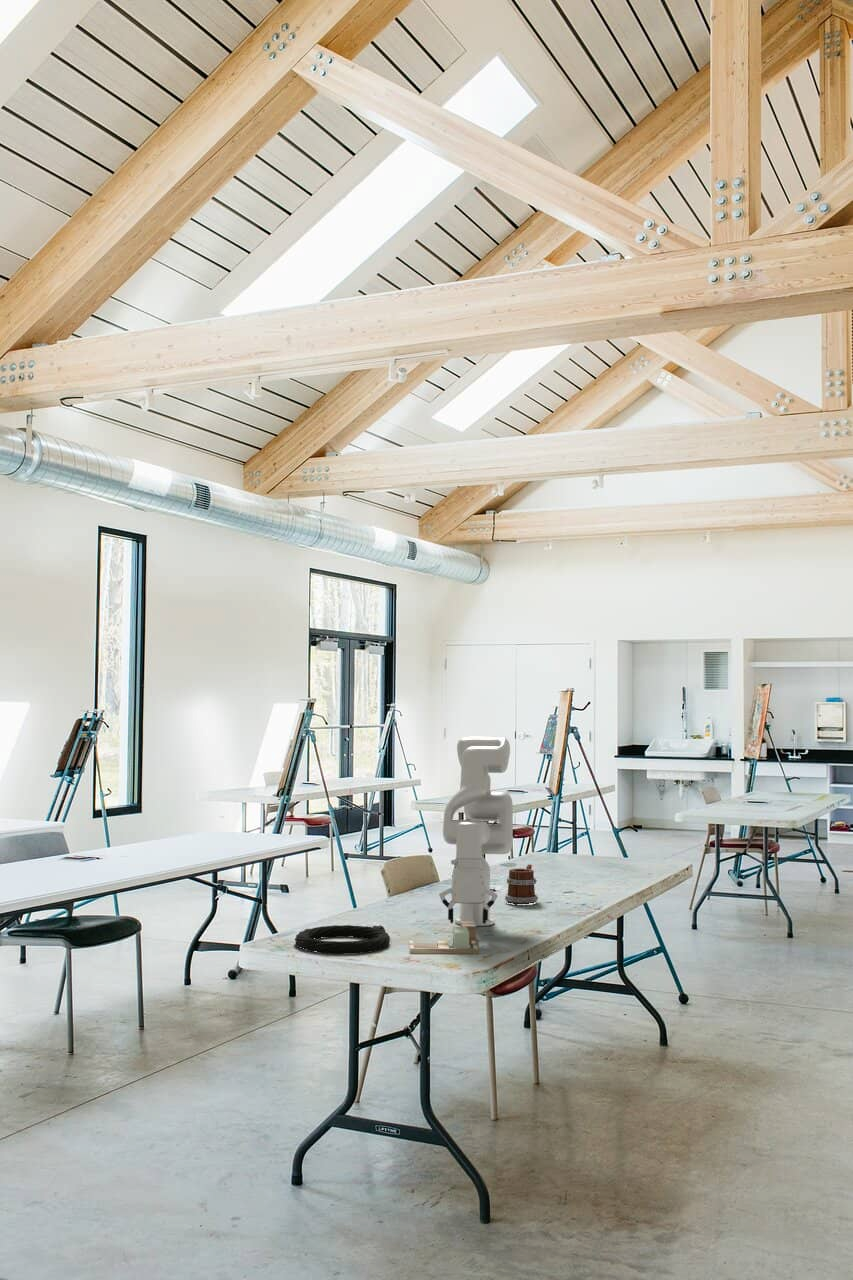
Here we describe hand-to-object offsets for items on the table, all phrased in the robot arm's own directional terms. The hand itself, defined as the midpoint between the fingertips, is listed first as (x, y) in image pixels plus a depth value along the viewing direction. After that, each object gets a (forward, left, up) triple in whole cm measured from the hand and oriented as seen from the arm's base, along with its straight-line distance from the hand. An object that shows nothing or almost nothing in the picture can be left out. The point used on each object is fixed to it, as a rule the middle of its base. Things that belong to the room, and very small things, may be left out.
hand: (467, 922), depth 327 cm
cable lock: (+6, -36, -6) cm, 37 cm away
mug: (-68, +24, -6) cm, 72 cm away
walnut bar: (-1, 0, -5) cm, 5 cm away
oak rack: (+11, -8, -5) cm, 14 cm away
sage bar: (+11, -3, -5) cm, 12 cm away
